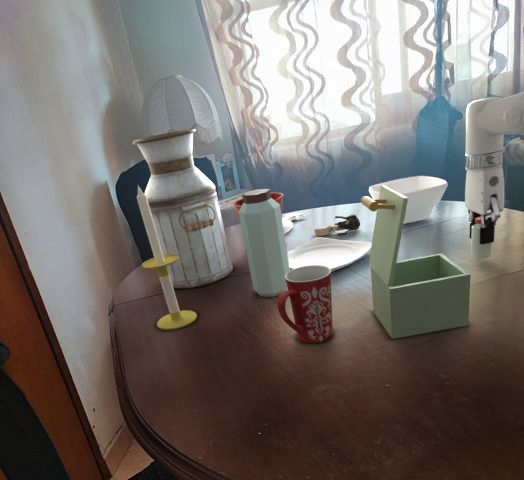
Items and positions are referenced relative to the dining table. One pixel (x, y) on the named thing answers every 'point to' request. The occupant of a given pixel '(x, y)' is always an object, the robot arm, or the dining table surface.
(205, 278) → the milk can
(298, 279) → the mug
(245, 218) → the water bottle
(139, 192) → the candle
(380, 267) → the lid
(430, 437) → the dining table surface
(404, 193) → the bowl
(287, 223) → the spray bottle
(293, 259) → the plate
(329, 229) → the toy figure
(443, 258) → the chest
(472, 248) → the spice bottle
